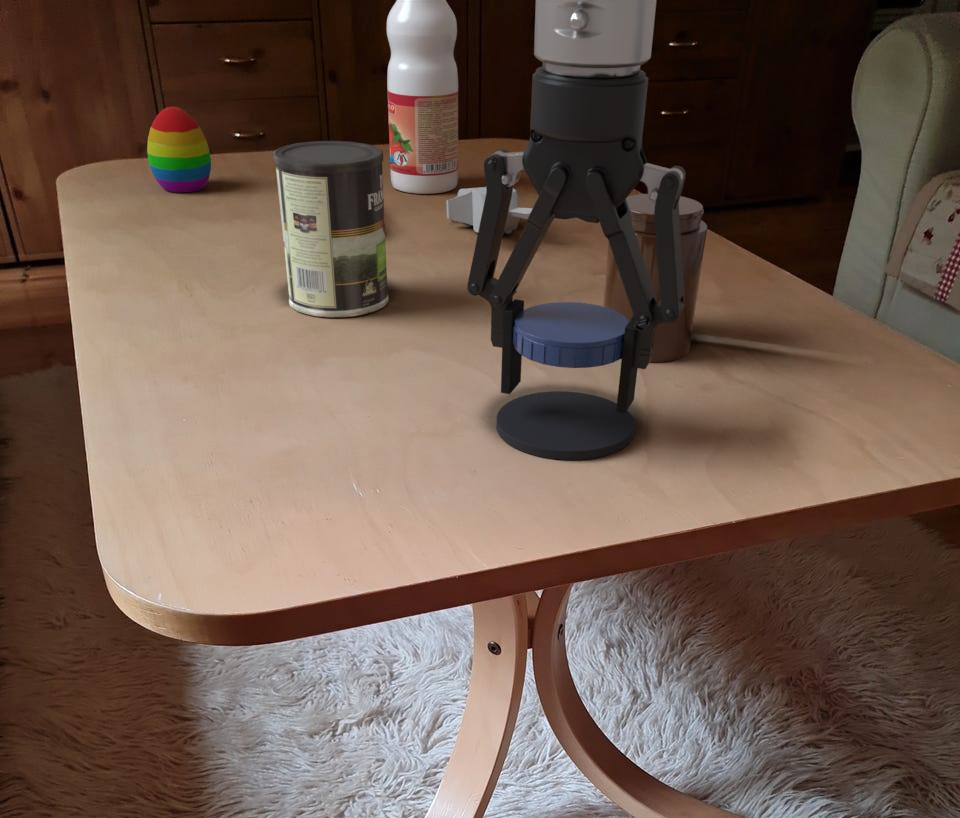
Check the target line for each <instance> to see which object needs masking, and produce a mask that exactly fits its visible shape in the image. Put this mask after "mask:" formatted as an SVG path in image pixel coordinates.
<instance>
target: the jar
mask: <svg viewBox="0 0 960 818" xmlns="http://www.w3.org/2000/svg"><path fill="white" fill-rule="evenodd" d="M626 200H627V203H628V207H629V210H630V213H631V216H632V225H633V229H634V232H635V235H636V238H637V241H638V244H639V247H640V250H641V253H642V256H643V259H644V262H645V265H646V268H647V271H648V274H649V278H650V281H651V284H652V287H653V290H654V293H655V296H656V299H657V302H658V301H661V299H660V286H659V273H658V260H657V248H656V235H655V222H654V211H655V203H654V202H652V201H651V200H650V199H649V197H648V193H642V194H641V193H639V194H633V195H628V197H627V198H626ZM704 214H705V211H704V206H703V204H702V203H701V202H699V201H697V200H696V199H692V198H689V197H686V196H682V195H681V196H680V200H679V217H680V232H681V247H682V262H683V278H684V293H685V307H684V309H683V311H682V312H681V314H680V316H679V317H678V319H677V320H676V321H675V322H673V323H667V322H664V323H660V324H658V325H657V326H656V334H655V342H654V350H653V357H652V359H651V361H650V362H649V363H664V362H665V363H666V362H670V361H675V360H679V359H681V358H682V357H685V356H686V355H687V354H689V351H690V349H691V342H692V334H693V328H694V321H695V313H696V307H697V299H698V294H699V287H700V280H701V273H702V266H703V260H704V252H705V246H706V240H707V232H708V225H707V223H706V222H705V221H703V220H702V218H703V215H704ZM602 307H606V308H609V309H612V310H615V311H617V312H619V313H621V314H622V315H624V316H625V317H626V318H627V319H628V320H629V321H630V320H631V318H632V317H633V316H634V314H633V311H632V308H631V305H630V303H629V300H628V297H627V294H626V291H625V288H624V285H623V282H622V279H621V276H620V273H619V270H618V267H617V264H616V261H615V258H614V255H613V252H612V250H611V247H610V244H609V243H608V247H607V258H606V270H605V279H604V291H603V303H602Z"/></svg>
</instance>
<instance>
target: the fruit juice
mask: <svg viewBox="0 0 960 818" xmlns="http://www.w3.org/2000/svg"><path fill="white" fill-rule="evenodd" d="M386 36H387V41H388V45H389V48H390V59H389V61H388V65H387V72H386V73H387V76H386V77H387V79H386V80H387V81H386V85H387V86H386V88H387V110H388V137H389V138H388V140H389V165H390V167H389V168H390V180H391V186H392V187H393V188H394V189H395V190H396V191H399V192H404V193H409V194H417V195H432V194H441V193H446V192H450V191H453V190H455V189H456V188H457V186H458V182H459V181H458V180H459V72H458V66H457V62H456V60H455V56H454V55H455V54H454V52H455V51H454V50H455V46H456V42H457V37H458V23H457V18H456V15H455V13H454V11H453V10H452V8H451V7H450V5H449V3H448V2H447V0H395V2H394V4H393V5H392V7H391V8H390V11H389V13H388V15H387V19H386Z"/></svg>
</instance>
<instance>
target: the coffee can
mask: <svg viewBox="0 0 960 818" xmlns="http://www.w3.org/2000/svg"><path fill="white" fill-rule="evenodd" d="M272 158H273V162H274V164H275V172H276V182H277V193H278V201H279V202H278V203H279V212H280V221H281V231H282V241H283V250H284V257H285V258H284V260H285V269H286V280H287V291H288V304H289V306H290V307H291V308H292V309H293V310H294V311H296V312H299V313H301V314H305V315H308V316H312V317H319V318H350V317H351V318H352V317H359V316H364V315H368V314H372V313H376V312H377V311H379V310H381V309H383V308H384V307H386V305H387V304H388V303H389V299H390V298H389V297H390V296H389V294H388V290H389V289H388V271H387V269H388V268H387V247H386V223H385V197H384V196H385V195H384V177H383V175H384V174H383V162H384V151H383V149H381V148H380V147H377V146H375V145H372V144H368V143H362V142H358V141H346V140H345V141H341V140H316V141H307V142H306V141H305V142H304V141H303V142H297V143H291V144H288V145H283V146H281V147H279V148H276V150H274V151H273V152H272Z"/></svg>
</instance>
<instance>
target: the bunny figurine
mask: <svg viewBox="0 0 960 818" xmlns="http://www.w3.org/2000/svg"><path fill="white" fill-rule="evenodd" d="M486 192H487V190H486V186H481V187H480V186H479V187H469V188H459V190H458V192H457V195H456V196H455V197H453V198H449V199H447V200H445V203H446V218H447V219H448V220H451V221H454V222H459V223H463V224H467V225H470V226H473V227H472V229H473V231H474V232H475V233H478V231H479V226H480V221H481V217H482V212H483V207H484V202H485V197H486ZM532 209H533V207H520V194H519V193H517V189H515V188H514V187H513V192H512V197H511V202H510V206H509V211H508V215H507V220H506V224H505V229H504V233H503V234H504V235H510V234H511V233H512V232H513V230H517V229H518V226H519V223H520V220H521V219H525V220H528V217H529V215H530V213H531V211H532Z"/></svg>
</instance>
